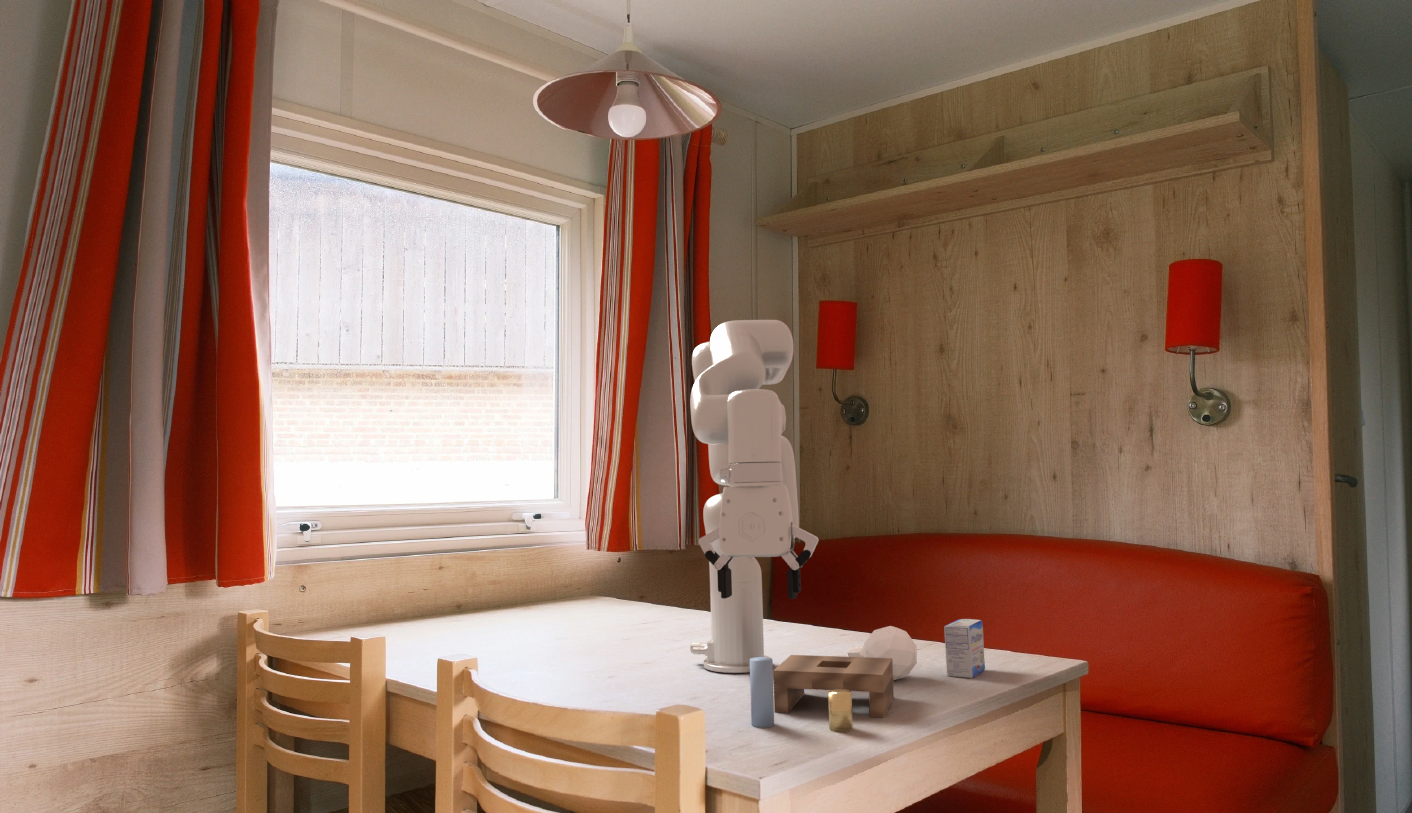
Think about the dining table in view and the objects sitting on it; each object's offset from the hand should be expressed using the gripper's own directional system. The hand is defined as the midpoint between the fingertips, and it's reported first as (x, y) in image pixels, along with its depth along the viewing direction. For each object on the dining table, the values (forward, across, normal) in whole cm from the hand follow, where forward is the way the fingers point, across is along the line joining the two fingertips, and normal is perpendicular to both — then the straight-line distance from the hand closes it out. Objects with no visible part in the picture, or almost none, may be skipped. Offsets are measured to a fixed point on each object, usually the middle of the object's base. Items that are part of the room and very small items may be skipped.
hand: (759, 597), depth 132 cm
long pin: (+18, 0, +1) cm, 18 cm away
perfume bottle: (+17, +13, +34) cm, 40 cm away
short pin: (+18, +11, +1) cm, 21 cm away
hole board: (+17, +8, +14) cm, 23 cm away
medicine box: (+17, +26, +40) cm, 50 cm away
